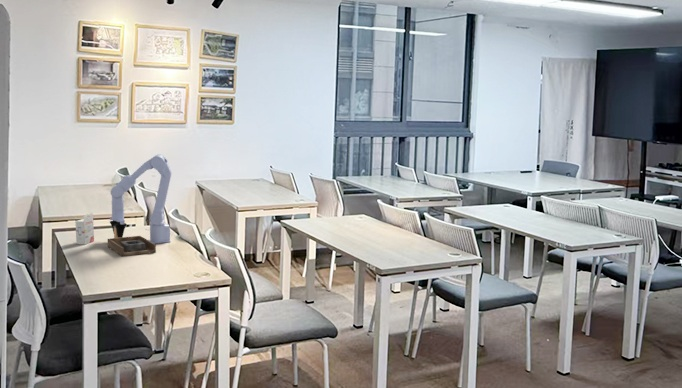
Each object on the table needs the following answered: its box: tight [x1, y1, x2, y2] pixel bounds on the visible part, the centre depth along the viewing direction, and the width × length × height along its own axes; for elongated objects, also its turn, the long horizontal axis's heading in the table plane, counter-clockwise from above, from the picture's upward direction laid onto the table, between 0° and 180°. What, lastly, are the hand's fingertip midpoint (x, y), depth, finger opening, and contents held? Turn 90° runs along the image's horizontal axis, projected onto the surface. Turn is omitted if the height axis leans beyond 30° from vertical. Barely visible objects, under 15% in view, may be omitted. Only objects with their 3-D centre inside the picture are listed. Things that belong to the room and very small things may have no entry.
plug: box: [113, 226, 122, 238], centre depth 346 cm, size 4×4×8 cm
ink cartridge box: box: [75, 212, 95, 246], centre depth 341 cm, size 9×5×15 cm, turn 168°
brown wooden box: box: [107, 235, 157, 257], centre depth 330 cm, size 16×22×4 cm
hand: (118, 236), depth 346 cm, fingers open, 6 cm apart
